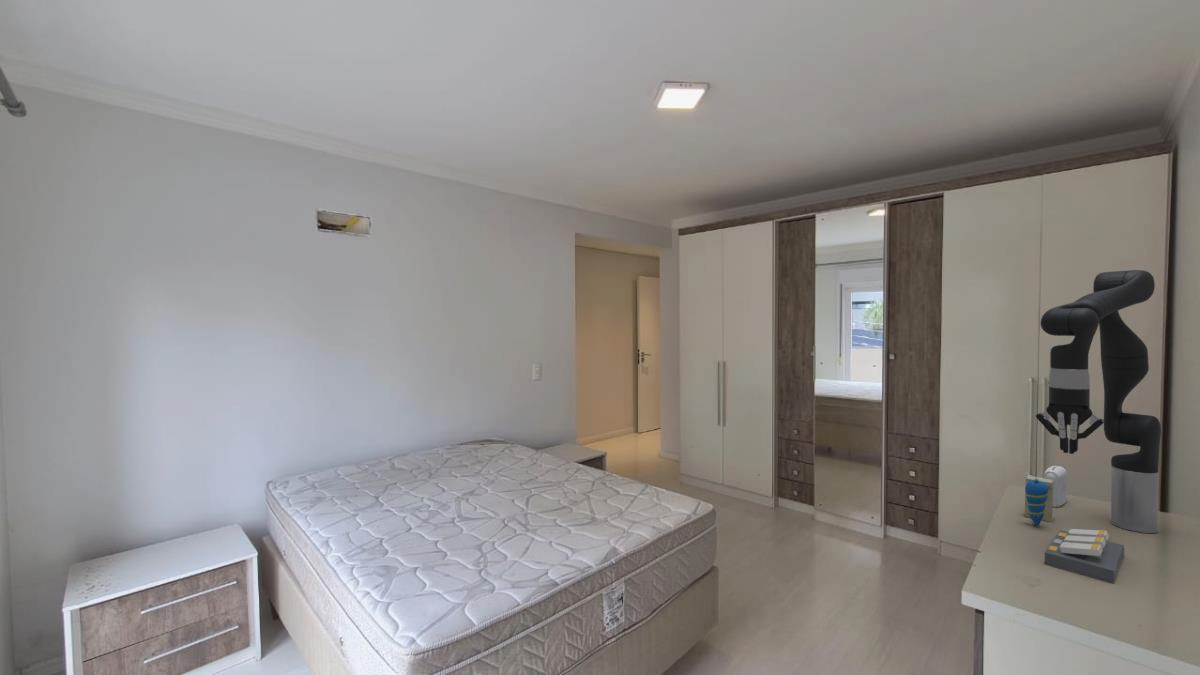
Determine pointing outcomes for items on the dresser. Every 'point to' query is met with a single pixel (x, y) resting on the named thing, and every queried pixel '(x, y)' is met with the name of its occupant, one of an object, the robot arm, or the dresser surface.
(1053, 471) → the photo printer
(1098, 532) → the rocker inner
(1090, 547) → the rocker outer
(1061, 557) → the switch unit
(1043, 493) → the ornament
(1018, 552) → the dresser surface
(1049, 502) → the skincare box
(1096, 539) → the rocker middle
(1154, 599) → the dresser surface
